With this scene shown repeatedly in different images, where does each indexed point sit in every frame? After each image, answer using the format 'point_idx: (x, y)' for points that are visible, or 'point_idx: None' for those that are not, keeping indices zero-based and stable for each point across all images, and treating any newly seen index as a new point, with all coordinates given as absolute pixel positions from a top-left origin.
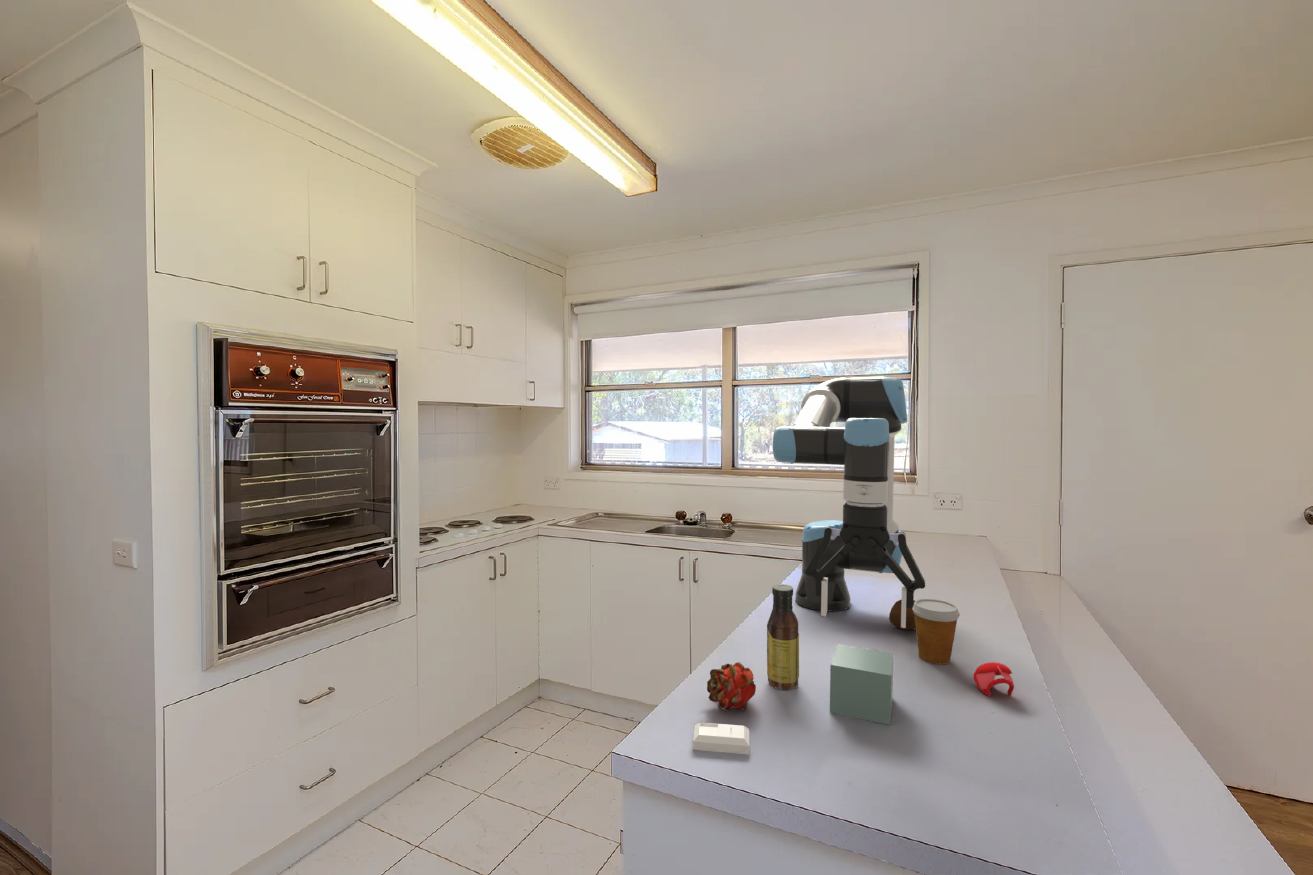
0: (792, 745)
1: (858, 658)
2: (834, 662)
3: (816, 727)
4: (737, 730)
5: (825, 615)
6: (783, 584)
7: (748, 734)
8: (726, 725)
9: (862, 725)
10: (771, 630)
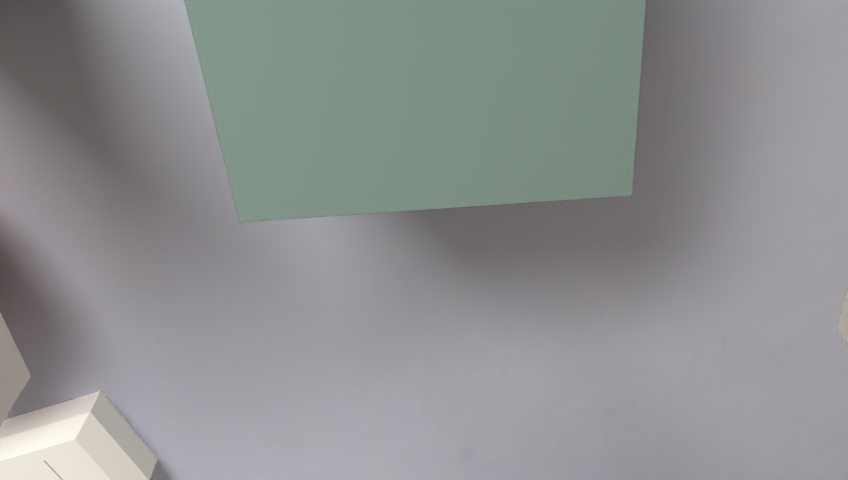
0: (250, 373)
1: (384, 23)
2: (250, 179)
3: (282, 237)
4: (75, 466)
5: (21, 357)
6: None
7: (110, 440)
8: (26, 460)
9: None
10: None
